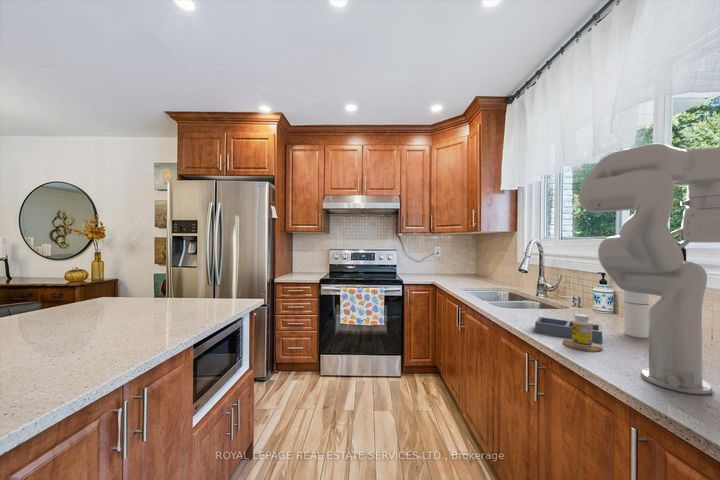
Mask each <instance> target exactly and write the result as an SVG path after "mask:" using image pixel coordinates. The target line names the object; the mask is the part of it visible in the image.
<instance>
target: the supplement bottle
mask: <svg viewBox="0 0 720 480" xmlns="http://www.w3.org/2000/svg"><path fill="white" fill-rule="evenodd" d="M571 321H572V338H571V339H572V342H573V343H574V344H576V345H579V346H584V347H589V346H592V343H593V341H592V324H593V323H592V322H591V321H590V315H588V314H583V313H575V314H574V319H572V320H571Z"/></svg>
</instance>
